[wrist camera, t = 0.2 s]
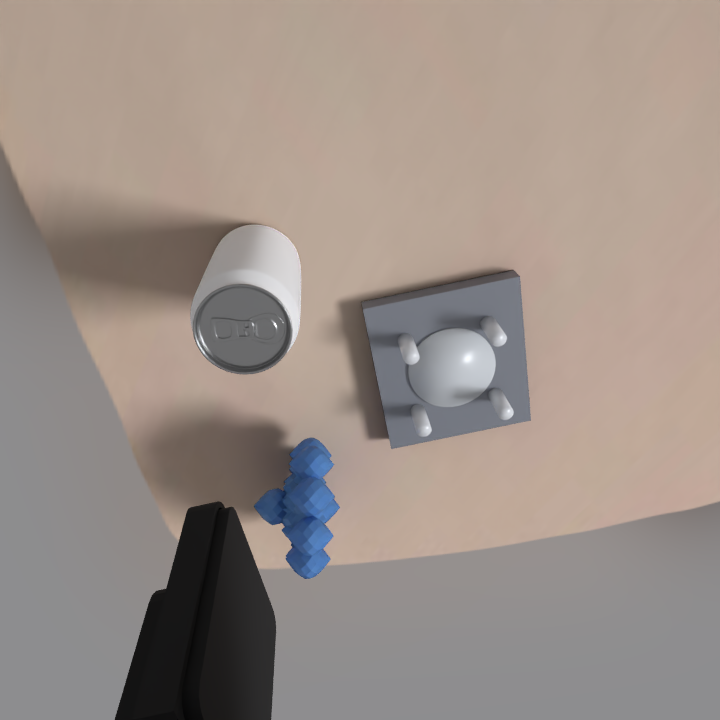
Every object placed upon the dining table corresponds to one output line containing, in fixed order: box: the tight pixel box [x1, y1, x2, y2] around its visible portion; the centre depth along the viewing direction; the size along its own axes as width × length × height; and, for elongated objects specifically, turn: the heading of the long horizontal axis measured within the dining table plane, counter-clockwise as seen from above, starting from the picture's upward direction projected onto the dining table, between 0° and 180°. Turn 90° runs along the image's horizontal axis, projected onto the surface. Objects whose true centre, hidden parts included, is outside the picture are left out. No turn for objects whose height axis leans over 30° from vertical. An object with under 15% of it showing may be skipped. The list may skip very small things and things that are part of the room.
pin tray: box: [361, 270, 531, 449], centre depth 49 cm, size 13×12×4 cm
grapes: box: [254, 438, 340, 579], centre depth 49 cm, size 12×7×12 cm, turn 175°
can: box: [190, 225, 301, 374], centre depth 40 cm, size 6×6×12 cm
